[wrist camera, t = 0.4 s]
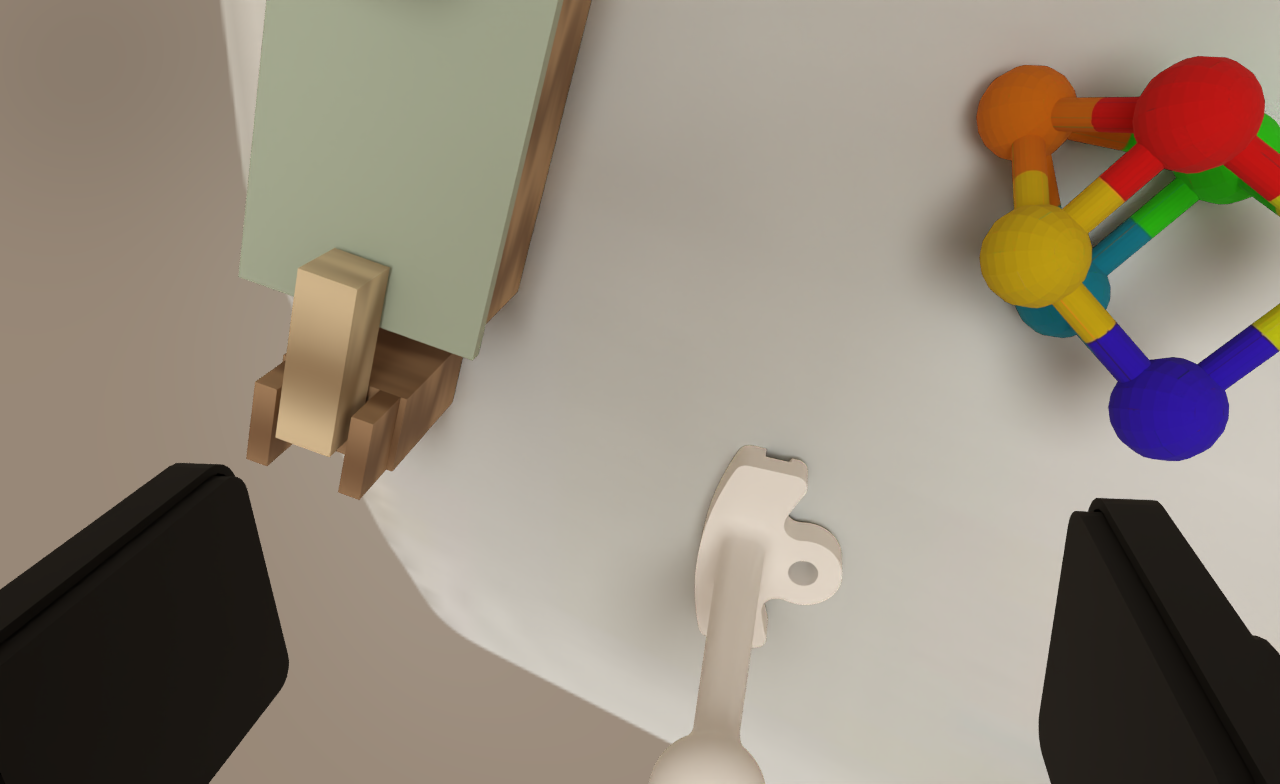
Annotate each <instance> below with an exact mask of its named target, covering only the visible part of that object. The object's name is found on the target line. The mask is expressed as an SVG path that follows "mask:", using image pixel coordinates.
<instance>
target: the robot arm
mask: <svg viewBox="0 0 1280 784" xmlns="http://www.w3.org/2000/svg"><path fill="white" fill-rule="evenodd" d="M288 668H289V659H288V653H287V649H286V645H285V641H284V637H283V633H282V629H281V625H280V620H279V617H278V613H277V608H276V604H275V600H274V596H273V592H272V588H271V584H270V580H269V576H268V572H267V568H266V564H265V560H264V556H263V552H262V547H261V543H260V540H259V535H258V531H257V527H256V523H255V519H254V515H253V511H252V507H251V503H250V499H249V495H248V491H247V488H246V485H245V484H244V482H243V481H242V480H241V479H240V478H238V477H235V475H234V474H233V472H232V471H231V470H230V468H228V467H226V466H225V465H220V464H194V463H176V464H174V465H172V466H169V467H168V468H167V469H165V470H164V471H162V472H161V473H160V474H158V475H157V476H156V477H154V478H153V479H151V480H150V481H149V482H147V483H146V484H145V485H143V486H142V487H140V488H139V489H138V490H136V491H135V492H134V493H132V494H131V495H129V496H128V497H127V498H125V499H124V500H123V501H121V502H120V503H118V504H117V505H116V506H115V507H113V508H112V509H111V510H109V511H108V512H106V513H105V514H103V515H102V516H101V517H99V518H98V519H97V520H95V521H94V522H93V523H91V524H90V525H88V526H87V527H86V528H84V529H83V530H81V531H80V532H79V533H77V534H76V535H75V536H74V537H72V538H70V539H69V540H68V541H66V542H65V543H64V544H62V545H61V546H60V547H58V548H57V549H55V550H54V551H53V552H51V553H50V554H48V555H47V556H46V557H44V558H43V559H42V560H40V561H39V562H38V563H36V564H35V565H33V566H32V567H31V568H30V569H28V570H27V571H25V572H24V573H22V574H21V575H20V576H18V577H17V578H16V579H14V580H13V581H11V582H10V583H9V584H7V585H6V586H5V587H3V588H2V589H1V590H0V784H209V782H210V781H211V779H212V778H213V777H214V776H215V774H216V773H217V772H218V771H219V769H220V768H221V767H222V765H223V764H224V763H225V762H226V760H227V759H228V758H229V756H230V755H231V754H232V752H233V751H234V750H235V749H236V747H237V746H238V745H239V743H240V742H241V741H242V739H243V738H244V737H245V735H246V734H247V733H248V732H249V730H250V729H251V728H252V726H253V725H254V724H255V722H256V721H257V720H258V718H259V717H260V716H261V715H262V713H263V712H264V711H265V709H266V708H267V707H268V706H269V704H270V703H271V702H272V700H273V699H274V698H275V696H276V695H277V694H278V693H279V691H280V690H281V688H282V687H283V685H284V683H285V680H286V678H287V673H288ZM1039 740H1040V747H1041V752H1042V756H1043V759H1044V762H1045V765H1046V769H1047V772H1048V775H1049V778H1050V782H1051V784H1280V655H1279V653H1278V652H1277V651H1276V650H1275V648H1274V647H1273V646H1272V645H1271V644H1270V643H1269V642H1268V641H1267V640H1265V639H1263V638H1260V637H1258V636H1253V635H1252V634H1251V633H1250V632H1249V630H1248V629H1247V627H1246V626H1245V624H1244V623H1243V621H1242V620H1241V619H1240V617H1239V616H1238V614H1237V613H1236V611H1235V610H1234V608H1233V607H1232V606H1231V604H1230V603H1229V601H1228V600H1227V598H1226V597H1225V595H1224V594H1223V593H1222V591H1221V590H1220V588H1219V587H1218V585H1217V584H1216V582H1215V581H1214V580H1213V578H1212V577H1211V575H1210V574H1209V572H1208V571H1207V569H1206V568H1205V567H1204V565H1203V564H1202V562H1201V561H1200V559H1199V558H1198V556H1197V555H1196V554H1195V552H1194V551H1193V549H1192V548H1191V546H1190V545H1189V543H1188V542H1187V541H1186V539H1185V538H1184V536H1183V535H1182V533H1181V532H1180V531H1179V529H1178V528H1177V526H1176V525H1175V523H1174V522H1173V520H1172V519H1171V518H1170V516H1169V515H1168V513H1167V512H1166V510H1165V509H1164V507H1163V506H1162V505H1161V504H1160V503H1159V502H1158V501H1154V500H1133V499H1107V498H1096V499H1094V500H1093V501H1092V503H1091V505H1090V507H1089V510H1088V512H1083V511H1074V512H1073V513H1072V515H1071V517H1070V519H1069V524H1068V529H1067V536H1066V543H1065V549H1064V556H1063V562H1062V569H1061V575H1060V582H1059V588H1058V595H1057V602H1056V608H1055V615H1054V621H1053V628H1052V634H1051V641H1050V647H1049V654H1048V661H1047V667H1046V674H1045V680H1044V687H1043V693H1042V700H1041V706H1040V713H1039Z"/></svg>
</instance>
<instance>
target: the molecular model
mask: <svg viewBox="0 0 1280 784" xmlns="http://www.w3.org/2000/svg"><path fill="white" fill-rule="evenodd" d="M1264 109H1265V99H1264V95H1263V91H1262V87H1261V85H1260V83H1259V82H1258V80H1257V79H1256V77H1255V75H1254V74H1253V73H1252V72H1251V71H1249V70H1248V69H1247V68H1245V67H1244V66H1242V65H1241V64H1239V63H1238V62H1237V61H1234V60H1231V59H1229V58H1225V57H1204V56H1197V57H1192V58H1187V59H1185V60H1182V61H1180V62H1178V63H1176V64H1174V65H1172V66H1171V67H1169V68H1167V69H1166V70H1164V71H1162V72H1161V73H1159V74H1158V75H1157V76H1156V77H1154V78H1153V79H1152V80H1151V81H1150V82H1149V84H1148V85H1147V87H1146V88H1145V89H1144V91H1143V93H1142V94H1141V96H1140V97H1088V98H1077V97H1076V93H1075V90H1074V88H1073V87H1072V86H1071V84H1070V83H1069V81H1068V80H1067V79H1066V77H1065V76H1064V75H1062V74H1060V73H1059V72H1057V71H1056V70H1054V69H1052V68H1050V67H1048V66H1035V65H1023V66H1019V67H1016V68H1014V69H1012V70H1010V71H1008V72H1007V73H1005V74H1003V75H1001V76H1000V77H998V78H996V79H995V80H994V81H993V82H992V83H991V84H990V85H989V87H988V88H987V90H986V91H985V93H984V94H983V96H982V97H981V100H980V102H979V106H978V111H977V116H976V119H977V126H978V133H979V135H980V137H981V139H982V141H983V143H984V145H985V146H986V147H987V148H988V149H990V150H991V151H992V152H993V153H994V154H995V155H997V156H998V157H1000V158H1003V159H1007V160H1011V161H1012V177H1013V198H1014V210H1012V211H1011V212H1009V213H1007V214H1006V215H1004V216H1003V217H1001V218H1000V219H998V220H997V221H996V222H995V223H994V224H993V226H992V227H991V229H990V231H989V232H988V234H987V235H986V237H985V238H984V240H983V242H982V247H981V252H980V265H981V272H982V275H983V277H984V279H985V281H986V283H987V285H988V287H989V288H990V289H991V290H992V291H993V292H994V293H995V294H997V295H998V296H999V297H1000V298H1002V299H1003V300H1004V301H1005V302H1008V303H1010V304H1012V305H1016V309H1017V311H1018V313H1019V315H1020V317H1021V319H1022V320H1023V321H1024V322H1025V323H1026V324H1027V325H1028V326H1030V327H1031V328H1032V329H1033V330H1035V331H1036V332H1038V333H1040V334H1042V335H1047V336H1053V337H1060V338H1066V337H1071V336H1074V335H1077V336H1078V337H1079V338H1080V339H1081V340H1082V341H1083V342H1084V344H1085V345H1086V346H1087V347H1088V348H1089V349H1090V350H1091V351H1092V353H1093V354H1094V355H1095V356H1096V357H1097V358H1098V359H1099V361H1100V362H1101V363H1102V364H1103V365H1104V366H1105V367H1106V368H1107V370H1108V371H1109V372H1110V373H1111V374H1112V375H1113V376H1114V378H1115V379H1116V380H1117V381H1118V382H1117V384H1116V386H1115V387H1114V389H1113V391H1112V393H1111V396H1110V401H1109V406H1108V408H1109V416H1110V422H1111V424H1112V426H1113V428H1114V430H1115V432H1116V434H1117V436H1118V438H1119V439H1120V440H1121V441H1122V442H1123V443H1124V444H1126V445H1127V446H1128V447H1129V448H1131V449H1132V450H1133V451H1135V452H1136V453H1138V454H1140V455H1142V456H1143V457H1147V458H1151V459H1157V460H1166V461H1181V460H1185V459H1188V458H1191V457H1193V456H1195V455H1197V454H1200V453H1202V452H1204V451H1205V450H1207V449H1209V448H1210V447H1211V446H1212V445H1213V444H1214V443H1215V442H1216V440H1217V439H1218V438H1219V437H1220V435H1221V434H1222V433H1223V432H1224V430H1225V427H1226V424H1227V421H1228V416H1229V403H1228V399H1227V395H1226V392H1225V390H1226V389H1227V388H1229V387H1230V386H1231V385H1233V384H1234V383H1236V382H1237V381H1238V380H1240V379H1241V378H1243V377H1244V376H1245V375H1247V374H1248V373H1249V372H1251V371H1252V370H1254V369H1255V368H1256V367H1258V366H1259V365H1261V364H1262V363H1263V362H1265V361H1266V360H1268V359H1269V358H1270V357H1272V356H1273V355H1275V354H1276V353H1277V352H1279V351H1280V304H1278V305H1277V306H1276V307H1274V308H1273V309H1272V310H1270V311H1269V312H1268V313H1266V314H1265V315H1263V316H1262V317H1261V318H1259V319H1258V320H1257V321H1255V322H1254V323H1253V324H1251V325H1250V326H1249V327H1247V328H1246V329H1245V330H1243V331H1242V332H1240V333H1239V334H1238V335H1236V336H1235V337H1234V338H1232V339H1231V340H1230V341H1228V342H1227V343H1226V344H1224V345H1223V346H1222V347H1220V348H1219V349H1218V350H1216V351H1215V352H1213V353H1212V354H1211V355H1209V356H1208V357H1207V358H1205V359H1204V360H1203V361H1201V362H1200V363H1199V364H1195V363H1193V362H1191V361H1188V360H1186V359H1183V358H1175V357H1171V358H1162V359H1154V360H1149V359H1148V358H1147V357H1146V356H1145V355H1144V353H1143V352H1142V351H1141V350H1140V349H1139V348H1138V347H1137V345H1136V344H1135V343H1134V342H1133V341H1132V340H1131V339H1130V337H1129V336H1128V335H1127V334H1126V333H1125V332H1124V330H1123V329H1122V328H1121V327H1120V326H1119V325H1118V324H1117V322H1116V321H1115V320H1114V319H1113V318H1112V317H1111V315H1110V314H1109V313H1108V312H1107V311H1106V308H1107V306H1108V303H1109V301H1110V284H1109V280H1108V277H1107V275H1108V274H1110V273H1111V272H1112V271H1113V270H1114V269H1116V268H1117V267H1118V266H1119V265H1121V264H1122V263H1123V262H1124V261H1125V260H1127V259H1128V258H1129V257H1130V256H1131V255H1133V254H1134V253H1135V252H1136V251H1138V250H1139V249H1140V248H1141V247H1142V246H1144V245H1145V244H1146V243H1147V242H1148V241H1150V240H1151V239H1152V238H1153V237H1155V236H1156V235H1157V234H1158V233H1159V232H1161V231H1162V230H1163V229H1164V228H1165V227H1167V226H1168V225H1169V224H1170V223H1171V222H1173V221H1174V220H1175V219H1176V218H1178V217H1179V216H1180V215H1181V214H1182V213H1184V212H1185V211H1186V210H1187V209H1188V208H1190V207H1191V206H1192V205H1193V204H1195V203H1196V202H1197V201H1198V200H1202V201H1206V202H1210V203H1215V204H1230V203H1234V202H1238V201H1241V200H1244V199H1247V198H1249V197H1254V198H1255V199H1256V200H1258V201H1259V202H1260V203H1262V204H1263V205H1265V206H1266V207H1267V208H1269V209H1270V210H1271V211H1273V212H1274V213H1275V214H1277V215H1278V216H1280V127H1279V125H1278V124H1277V122H1276V121H1275V120H1273V119H1272V118H1271V117H1270V116H1268V115H1267V114H1265V113H1264ZM1067 139H1068V140H1073V141H1077V142H1082V143H1087V144H1092V145H1097V146H1101V147H1106V148H1111V149H1116V150H1121V151H1126V153H1125V154H1124V155H1123V156H1122V157H1121V158H1120V159H1118V160H1117V161H1116V162H1115V163H1114V164H1113V165H1112V166H1110V167H1109V168H1108V169H1107V170H1106V171H1105V172H1104V173H1103V174H1101V175H1100V176H1099V177H1098V178H1097V179H1096V180H1095V181H1093V182H1092V183H1091V184H1090V185H1089V186H1088V187H1087V188H1086V189H1084V190H1083V191H1082V192H1081V193H1080V194H1079V195H1078V196H1076V197H1075V198H1074V199H1073V200H1072V201H1071V202H1070V203H1069V204H1067V205H1066V206H1065V207H1064V208H1063V209H1061V203H1060V198H1059V193H1058V188H1057V182H1056V177H1055V172H1054V166H1053V161H1052V156H1051V154H1052V153H1053V152H1054V151H1056V150H1057V149H1058V148H1059V147H1060V146H1061V145H1062V144H1063V143H1064V142H1065V141H1066V140H1067ZM1163 169H1168V170H1172V171H1173V173H1174V175H1175V177H1176V178H1175V179H1174V180H1173V181H1172V182H1171V183H1170V184H1168V185H1167V186H1166V187H1165V188H1164V189H1162V190H1161V191H1160V192H1159V193H1158V194H1157V195H1155V196H1154V197H1153V198H1152V199H1151V200H1149V201H1148V202H1147V203H1146V204H1145V205H1144V206H1142V207H1141V208H1140V209H1139V210H1138V211H1136V212H1135V213H1134V214H1133V215H1132V216H1131V217H1129V218H1128V219H1127V220H1126V221H1125V222H1123V223H1122V224H1121V225H1120V226H1119V227H1118V228H1116V229H1115V230H1114V231H1113V232H1112V233H1110V234H1109V235H1108V236H1107V237H1106V238H1105V239H1103V240H1102V241H1101V242H1100V243H1099V244H1097V245H1096V246H1095V247H1094V248H1093V249H1092V245H1091V242H1090V238H1089V235H1088V233H1089V232H1090V231H1092V230H1093V229H1094V228H1095V227H1096V226H1097V225H1099V224H1100V223H1101V222H1102V221H1103V220H1104V219H1106V218H1107V217H1108V216H1109V215H1110V214H1111V213H1113V212H1114V211H1115V210H1116V209H1117V208H1118V207H1120V206H1121V205H1122V204H1123V203H1124V202H1125V201H1127V200H1128V199H1129V198H1130V197H1131V196H1132V195H1134V194H1135V193H1136V192H1137V191H1138V190H1139V189H1141V188H1142V187H1143V186H1144V185H1145V184H1146V183H1148V182H1149V181H1150V180H1151V179H1152V178H1153V177H1155V176H1156V175H1157V174H1158V173H1159V172H1160V171H1162V170H1163Z"/></svg>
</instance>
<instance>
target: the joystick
mask: <svg viewBox="0 0 1280 784" xmlns="http://www.w3.org/2000/svg"><path fill="white" fill-rule="evenodd" d="M807 479H808V469H807V466H806V465H805V463H803V462H802V461H800V460H797V459H791V460H790V461H789V462H787V461H783V460H778V459H774V458H769V457H766V448H761V447H757V446H752V445H746V446H743V447H742V448H740V449H739V451H738V452H737V454H736V455H735V456H734V458H733V460H732V461H731V463H730V464H729V466H728V468H727V469H726V471H725V473H724V475H723V477H722V478H721V480H720V482H719V485H718V487H717V489H716V491H715V493H714V496H713V499H712V501H711V504H710V507H709V510H708V513H707V517H706V520H705V525H704V529H703V534H702V538H701V543H700V548H699V552H698V558H697V564H696V573H695V606H696V614H697V621H698V626H699V630H700V632H701V633H702V634H703V635H705V636H706V643H705V650H704V657H703V664H702V671H701V678H700V685H699V692H698V699H697V706H696V713H695V720H694V727H693V730H692V732H691V733H690V734H689V735H688V736H685V737H683V738H681V739H679V740H677V741H676V742H674V743H673V744H671V745H670V746H669V747H668V748H667V749H666V750H665V751H664V752H663V753H662V754H661V756H660V757H659V759H658V760H657V762H656V764H655V766H654V768H653V770H652V773H651V777H650V780H649V784H765V781H764V777H763V775H762V772H761V770H760V768H759V766H758V764H757V762H756V761H755V759H754V758H753V756H752V755H751V754H750V753H749V752H748V751H747V750H746V749H745V748H744V747H743V746H742V744H741V740H740V726H741V719H742V712H743V705H744V698H745V691H746V684H747V677H748V669H749V662H750V655H751V648H758V647H761V646H763V645H764V643H765V642H766V633H767V621H768V617H767V613H766V608H765V602H766V601H768V600H770V599H775V598H778V599H783V600H786V601H788V602H791V603H795V604H800V605H811V604H816V603H820V602H822V601H825V600H827V599H828V598H830V597H831V596H832V595H833V594H834V593H835V592H836V591H837V590H838V588H839V586H840V584H841V581H842V554H841V548H840V545H839V543H838V541H837V539H836V538H835V537H834V536H833V535H832V534H831V533H830V532H829V531H828V530H826V529H825V528H823V527H821V526H818V525H815V524H811V523H803V522H797V521H794V520H793V519H791V518H790V517H789V516H788V515H789V514H790V512H791V511H792V510H793V508H794V507H795V506H796V504H797V503H798V502H799V501H800V500H801V498H802V497H803V496H804V495H805V494H806V492H807ZM804 561H806V562H804Z"/></svg>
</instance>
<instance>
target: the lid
mask: <svg viewBox="0 0 1280 784" xmlns="http://www.w3.org/2000/svg"><path fill="white" fill-rule="evenodd" d="M562 4H563V0H266V10H265V20H264V30H263V39H262V49H261V59H260V69H259V79H258V89H257V99H256V109H255V118H254V128H253V138H252V148H251V158H250V168H249V178H248V188H247V198H246V207H245V217H244V227H243V237H242V247H241V257H240V267H239V277H240V278H243V279H246V280H249V281H251V282H254V283H257V284H260V285H263V286H265V287H268V288H271V289H274V290H277V291H279V292H282V293H285V294H288V295H291V296H293V297H294V293H295V286H296V278H297V271H298V268H299V267H301V266H303V265H304V264H306V263H308V262H310V261H312V260H313V259H315V258H317V257H319V256H321V255H322V254H324V253H326V252H328V251H330V250H332V249H333V248H336V249H339V250H342V251H345V252H348V253H351V254H353V255H356V256H359V257H362V258H365V259H367V260H370V261H373V262H376V263H379V264H381V265H384V266H387V267H390V270H389V276H388V281H387V287H386V292H385V298H384V303H383V309H382V314H381V320H380V325H379V327H380V328H383V329H386V330H388V331H391V332H394V333H397V334H400V335H402V336H405V337H408V338H411V339H414V340H416V341H419V342H422V343H425V344H427V345H430V346H433V347H436V348H439V349H441V350H444V351H447V352H450V353H453V354H455V355H458V356H461V357H464V358H467V359H469V360H472V361H473V359H474V358H475V357H476V356H477V355H478V354H479V350H480V346H481V342H482V338H483V334H484V329H485V325H486V321H487V317H488V313H489V309H490V304H491V300H492V296H493V292H494V288H495V284H496V279H497V275H498V271H499V267H500V263H501V259H502V254H503V250H504V246H505V242H506V238H507V234H508V229H509V225H510V221H511V217H512V213H513V209H514V204H515V200H516V196H517V192H518V188H519V184H520V179H521V175H522V171H523V167H524V163H525V159H526V154H527V150H528V146H529V142H530V138H531V134H532V129H533V125H534V121H535V117H536V113H537V109H538V104H539V100H540V96H541V92H542V88H543V84H544V79H545V75H546V71H547V67H548V63H549V59H550V54H551V50H552V46H553V42H554V38H555V34H556V29H557V25H558V21H559V17H560V13H561V8H562Z"/></svg>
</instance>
